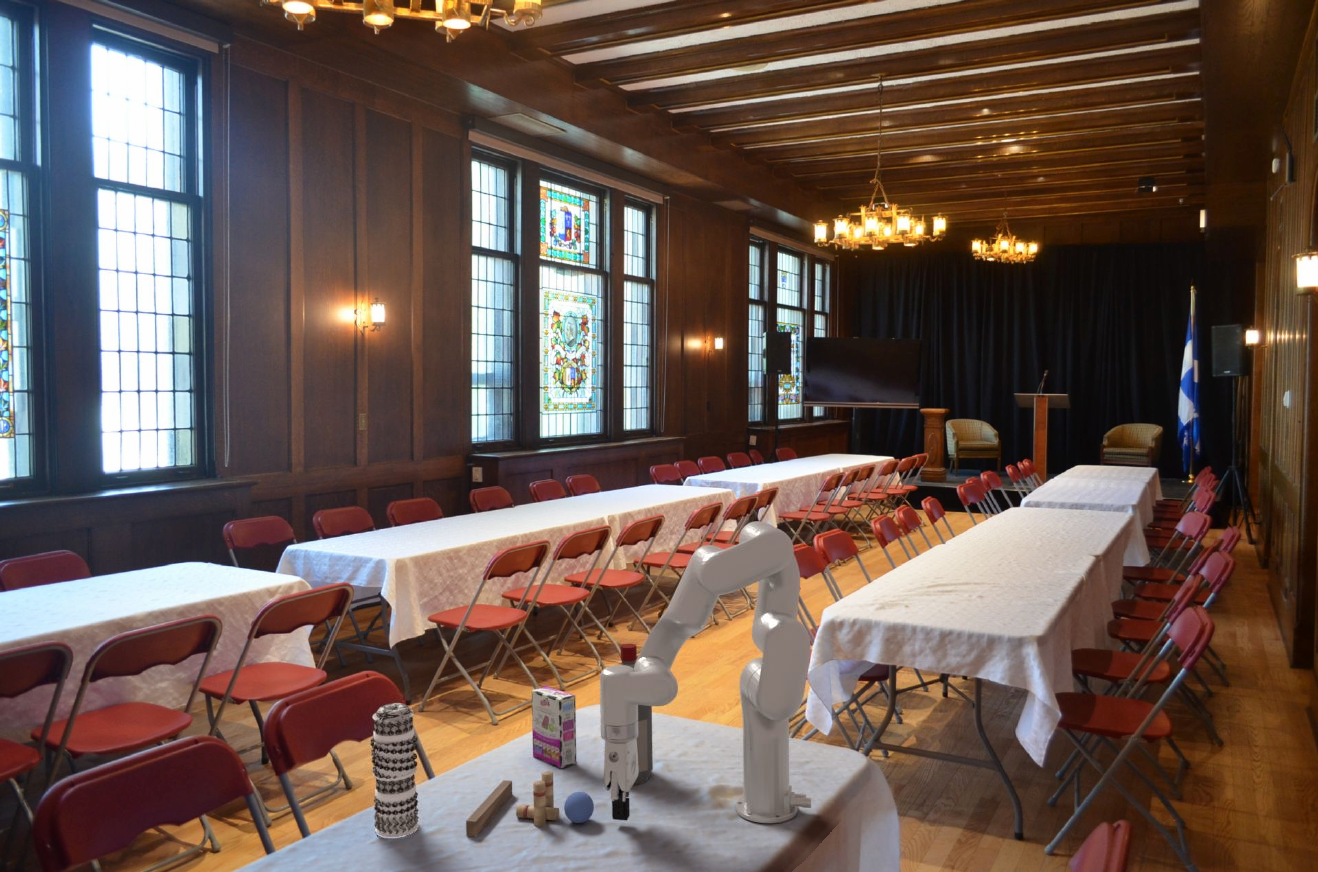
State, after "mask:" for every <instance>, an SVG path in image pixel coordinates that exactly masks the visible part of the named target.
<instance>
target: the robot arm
mask: <svg viewBox="0 0 1318 872" xmlns="http://www.w3.org/2000/svg"><path fill="white" fill-rule="evenodd" d="M738 537H739V539H738V543H737V544H735V545H732V546H730V547H727V548H725V549H723V548H722V547H719V546H718V545H717V546H716V545H712V544H711V545H710V544H707V545H703V546H702V545H701V546H700V547H698V548H697V549H695V551H694V553H693V554H692V556H691V557H690V558H689V559H690V560H689V562H688V564H687V566H686V568H685V569H684V571H683V574H682V576H681V578H680V580H679V583H678V584H677V587H676V589H675V592H674V594H673V596H672V598H671V600H670V602H669V604H668V606H667V608H666V609H665V611H664V613H663V614H662V615H661V617H660V618H659V619H658V621H657V622H656V623H655V625H654V626H653V627H652V629H651V631H650V632H649V633H648V635H647V637H646V640H645V642H643V643H644V644H643V646H642V648H641V650H640V652H639V654H638V656H637V660H636V663H635V666H634V669H633V668H632V667H630V666H625V665H622V664H615V665H610V666H607V667H605V668H603V669H602V670H601V672H600V674H599V689H600V690H599V693H600V694H599V698H600V699H599V703H600V704H599V705H600V738H601V740H603V741H604V750H603V751H604V755H603V756H604V761H603V779H604V780H603V782H604V788H605V790H606V791H609V790H610V800H611V815H612V817H611V819H612V820H615V821H616V820H617V821H628V820H629V818H630V816H631V815H630V814H631V813H630V811H631V810H630V790H631V789H632V787H633V785H634V782H635V780H636V779H637V777H638V773H639V769H638V751H637V739H636V738H637V737H638V705H646V706H652V707H664V706H667V705H669V704H671V703H672V702H674V700H675V699H676V698H677V695H678V693H679V685H678V680H677V679H676V676H675V675H674V674H673V672H672V670H671V668H672V666H673V664H674V661H675V659H676V658H677V655H678V653H679V652H680V650H681V648H682V647H683V646H684V644H685V643H686V641H688V640H689V639H690V638H692V637H693V636H694V635H697V634H699V633H701V632H702V631H703V630H704V629H705V628H706V627H707V624H708V622H709V620H710V617H711V615H712V614H713V611H714V609H715V607H716V605H717V602H718V600H719V598H720V596H723V595H728V594H731V593H734V592H737V591H739V590H742V589H743V588H746V587H749V586H751V585H754V584H755V583H757V582H758V586H757V587H758V588H757V597H756V604H755V610H754V614H753V616H754V617H753V621H752V625H751V626H752V627H751V639H752V642H753V643H754V645H755V647H757V649H758V650H759V651H760V652H761V653H762V657H757V658H754V659H752V660H750V661H749V662H748V663H747V664H746V665H744V667H743V669H742V671H741V672H740V677H739V695H740V704H741V713H742V715H741V717H742V777H743V778H742V780H743V781H742V785H743V787H742V789H743V791H742V792H743V795H742V796H741V797H740V798H739V799H738V800H737V801H735V802H736V804H735V811H736V812H737V814H738V815H739V816H740V817H741V818H742V819H745V820H747V821H751V822H754V823H761V824H777V823H784V822H787V821H790V820H791V819H793V818H794V817H795V816H796V815H797V813H798V807H799V808H807V809H812V798H811V797H807V793H795V791H793V785H791V784H790V721H789V719H791V718H793V717H794V716H795V715H796V714H797V712H799V709H800V708H801V705H802V702H803V701H804V695H805V690H806V684H807V679H808V671H809V665H810V659H811V658H810V657H811V647H812V646H811V640H810V639H811V638H810V635H809V632H808V630H807V629H806V627H805V626H804V624H803V623H802V622H801V621H799V620H798V611H799V600H800V592H801V591H800V590H801V574H800V568H799V564H798V560H797V558H796V555H795V554H794V552H795V551H794V544H793V541H792V539H791V538H790V536H789V535H788V534H787V533H786V532H784V531H783V530H782V529H779V528H777V527H775V526H774V525H772V524H769V523H767V522H764V521H752V522H751V521H750V522H749V523H747V524H745V525H744V527H742V529H741V531H740V534H739V536H738Z"/></svg>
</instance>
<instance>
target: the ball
mask: <svg viewBox="0 0 1318 872" xmlns="http://www.w3.org/2000/svg"><path fill="white" fill-rule="evenodd" d="M594 806H595V804H594V800H593V799H592V797H591V796H590V795H589V794H588V793H586V792H584V791H576V792H572V793H571V794H570V795H568V797H567V798H566V800H565V801H564V806H563V807H564V809H563V810H564V814H565V817H567V819H568V820H569V821H571V822H572V823H575V824H582V823H585V822H587V821H589V819H590V818H591V817H592V816H593V813H594V810H595V807H594Z"/></svg>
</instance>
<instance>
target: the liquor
mask: <svg viewBox="0 0 1318 872" xmlns="http://www.w3.org/2000/svg"><path fill="white" fill-rule="evenodd" d="M637 658H638V656H637V645H636V644H634V643H623V644H620V660H621V665H625V666H630V667H632V668H633V669H634V666H635V663H636V661H637ZM636 739H637V751H638V769H639V773H638V777H637V779H636V780H635V782H634V784H633V785H635V786H636V785H640V784H645V783H647V781H648V779H649V778H650V776H651V774H652V773H653V772H652V771H653V769H654V767H653V761H654V760H653V758H654V757H653V706H646V705H638V737H637V738H636Z"/></svg>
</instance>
